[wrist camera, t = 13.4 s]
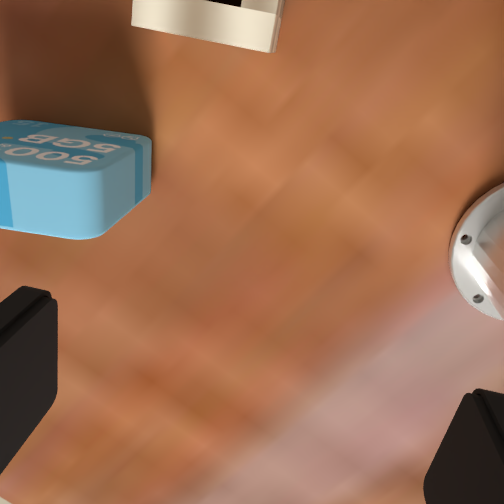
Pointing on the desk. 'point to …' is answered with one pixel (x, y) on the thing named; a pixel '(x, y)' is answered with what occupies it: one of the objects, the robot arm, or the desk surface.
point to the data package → (69, 178)
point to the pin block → (214, 21)
